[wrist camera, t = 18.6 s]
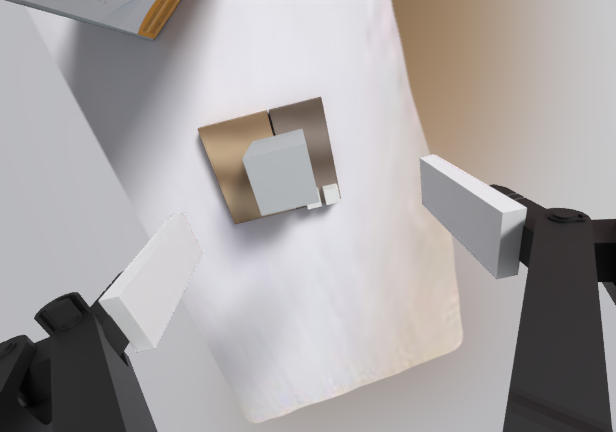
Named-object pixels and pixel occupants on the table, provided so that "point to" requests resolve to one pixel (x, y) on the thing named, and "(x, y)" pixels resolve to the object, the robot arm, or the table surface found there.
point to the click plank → (236, 160)
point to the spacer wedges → (328, 196)
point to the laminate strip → (309, 137)
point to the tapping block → (281, 172)
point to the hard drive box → (112, 13)
